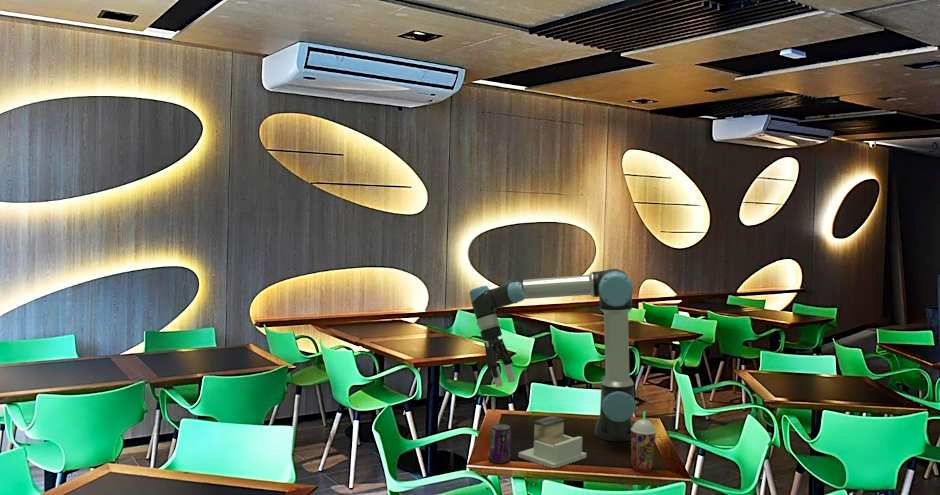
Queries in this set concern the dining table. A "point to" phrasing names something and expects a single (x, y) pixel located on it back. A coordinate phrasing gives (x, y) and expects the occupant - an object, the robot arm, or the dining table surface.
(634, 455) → the smoothie
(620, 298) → the robot arm
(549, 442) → the grey and beige block
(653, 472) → the dining table surface
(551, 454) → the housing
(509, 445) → the beverage can
